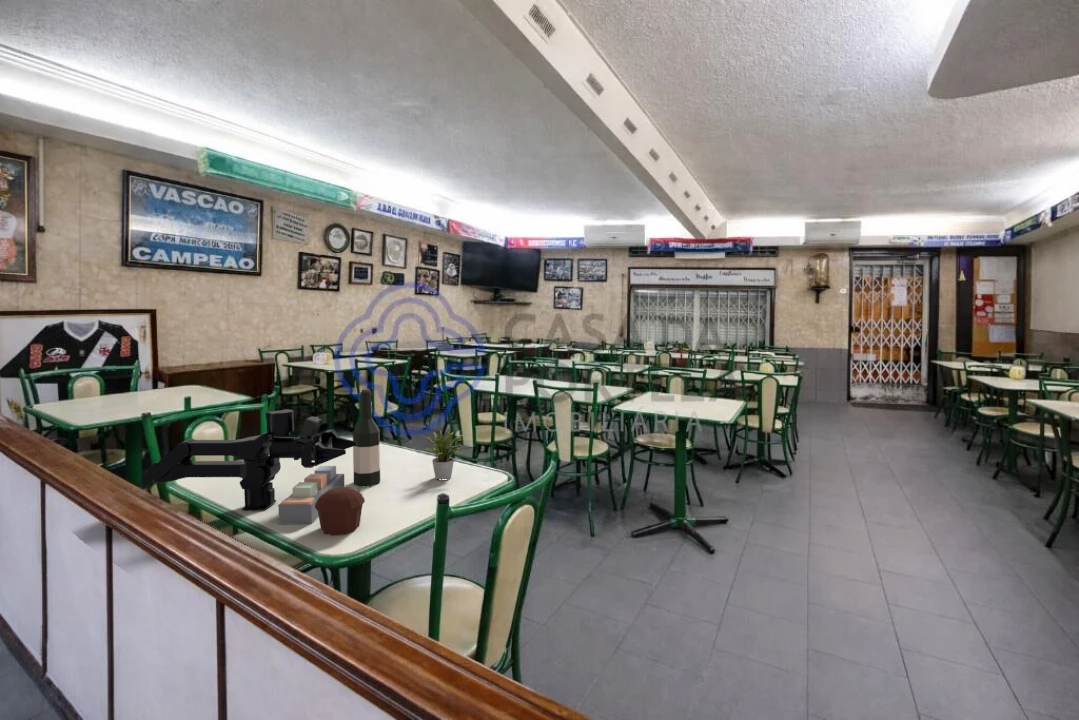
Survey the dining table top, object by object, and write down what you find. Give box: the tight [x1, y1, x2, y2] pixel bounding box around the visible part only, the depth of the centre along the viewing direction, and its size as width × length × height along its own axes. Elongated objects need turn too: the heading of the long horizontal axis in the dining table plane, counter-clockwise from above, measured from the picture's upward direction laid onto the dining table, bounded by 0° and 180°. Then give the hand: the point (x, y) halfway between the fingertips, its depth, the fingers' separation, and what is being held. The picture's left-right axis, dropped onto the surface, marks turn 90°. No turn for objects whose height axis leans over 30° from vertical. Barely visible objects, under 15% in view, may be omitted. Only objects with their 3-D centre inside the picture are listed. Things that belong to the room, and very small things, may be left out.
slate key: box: [314, 465, 337, 481], centre depth 152 cm, size 5×5×4 cm
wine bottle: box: [352, 388, 381, 488], centre depth 163 cm, size 8×8×30 cm
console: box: [277, 473, 346, 525], centre depth 144 cm, size 8×26×6 cm, turn 3°
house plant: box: [423, 429, 466, 481], centre depth 168 cm, size 14×14×16 cm
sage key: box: [292, 481, 317, 498], centre depth 137 cm, size 5×5×4 cm
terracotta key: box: [303, 473, 327, 490], centre depth 145 cm, size 5×5×4 cm
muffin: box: [315, 486, 366, 537], centre depth 129 cm, size 12×11×10 cm
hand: (351, 447), depth 143 cm, fingers open, 9 cm apart
